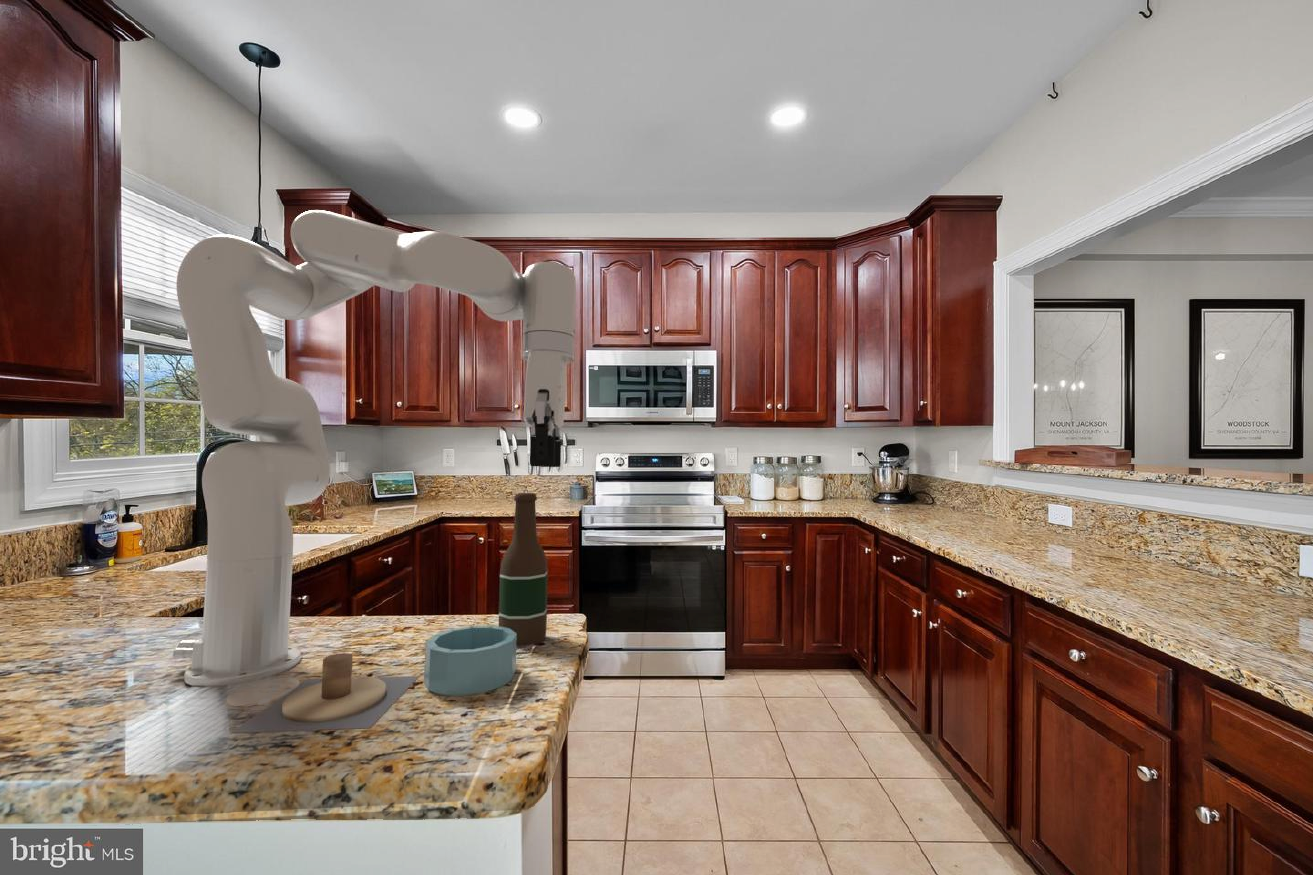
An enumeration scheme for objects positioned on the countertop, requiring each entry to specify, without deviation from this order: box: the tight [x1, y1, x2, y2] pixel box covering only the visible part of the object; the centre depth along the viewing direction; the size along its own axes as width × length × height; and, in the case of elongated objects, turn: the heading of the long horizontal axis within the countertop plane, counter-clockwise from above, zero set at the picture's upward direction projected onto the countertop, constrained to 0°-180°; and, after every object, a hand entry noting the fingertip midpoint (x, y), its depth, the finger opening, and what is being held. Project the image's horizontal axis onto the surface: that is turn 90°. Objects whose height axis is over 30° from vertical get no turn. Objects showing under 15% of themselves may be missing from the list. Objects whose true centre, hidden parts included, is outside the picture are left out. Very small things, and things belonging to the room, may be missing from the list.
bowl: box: [423, 625, 517, 697], centre depth 69 cm, size 11×11×6 cm
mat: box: [229, 675, 420, 734], centre depth 61 cm, size 14×14×1 cm
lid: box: [282, 652, 386, 722], centre depth 62 cm, size 10×10×5 cm
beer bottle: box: [498, 492, 549, 647], centre depth 86 cm, size 8×8×24 cm
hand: (546, 466), depth 75 cm, fingers open, 9 cm apart
